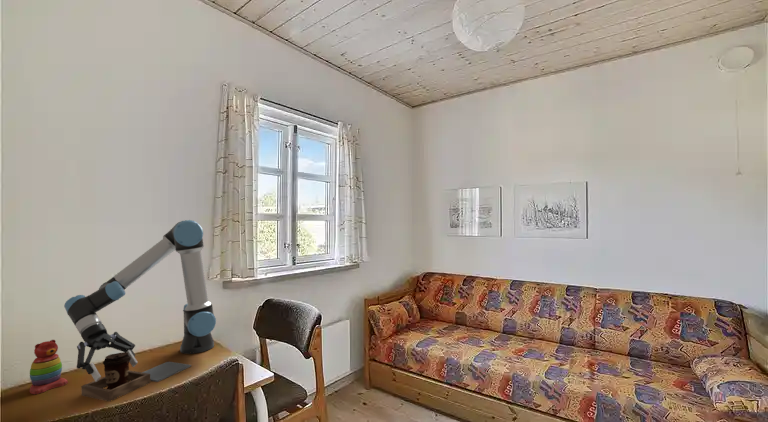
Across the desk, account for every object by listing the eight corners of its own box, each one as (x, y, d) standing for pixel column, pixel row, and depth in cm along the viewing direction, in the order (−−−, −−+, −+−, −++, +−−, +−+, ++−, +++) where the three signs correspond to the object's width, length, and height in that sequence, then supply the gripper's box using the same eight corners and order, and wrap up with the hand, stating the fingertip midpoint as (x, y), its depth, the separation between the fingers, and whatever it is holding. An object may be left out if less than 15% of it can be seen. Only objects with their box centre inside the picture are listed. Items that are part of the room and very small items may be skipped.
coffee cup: (115, 395, 134) (114, 360, 135) (97, 393, 136) (96, 358, 136) (136, 384, 143) (135, 351, 143) (118, 383, 144) (117, 350, 145)
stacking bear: (34, 395, 136) (33, 348, 136) (22, 390, 141) (22, 344, 141) (69, 383, 146) (69, 339, 146) (57, 379, 150) (57, 336, 151)
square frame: (123, 377, 149) (123, 369, 149) (150, 382, 144) (150, 373, 144) (81, 395, 135) (81, 386, 135) (109, 401, 130) (109, 391, 130)
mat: (168, 362, 164) (168, 361, 164) (191, 366, 159) (191, 364, 159) (133, 377, 149) (133, 376, 149) (157, 382, 144) (157, 380, 144)
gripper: (119, 326, 157) (144, 365, 151) (49, 345, 134) (76, 392, 128) (127, 314, 155) (153, 353, 150) (58, 332, 132) (85, 379, 126)
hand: (117, 371), depth 139 cm, fingers open, 13 cm apart
